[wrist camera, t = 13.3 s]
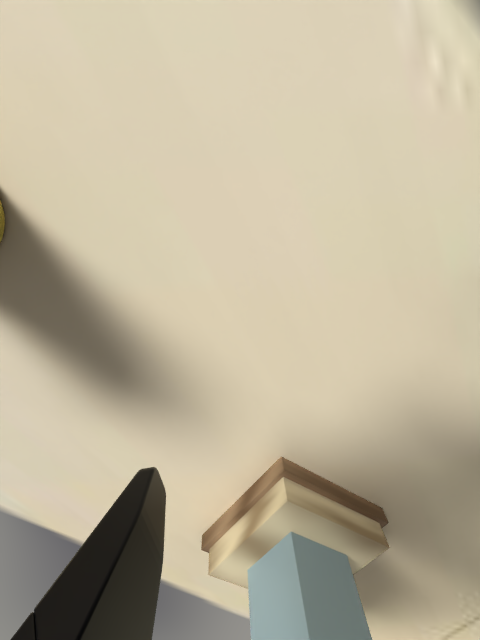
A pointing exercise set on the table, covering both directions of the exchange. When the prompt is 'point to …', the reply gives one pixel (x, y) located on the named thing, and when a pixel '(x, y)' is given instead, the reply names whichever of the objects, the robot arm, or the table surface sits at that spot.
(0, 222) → the vase
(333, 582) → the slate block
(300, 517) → the birch slab
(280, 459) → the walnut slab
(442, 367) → the table surface
